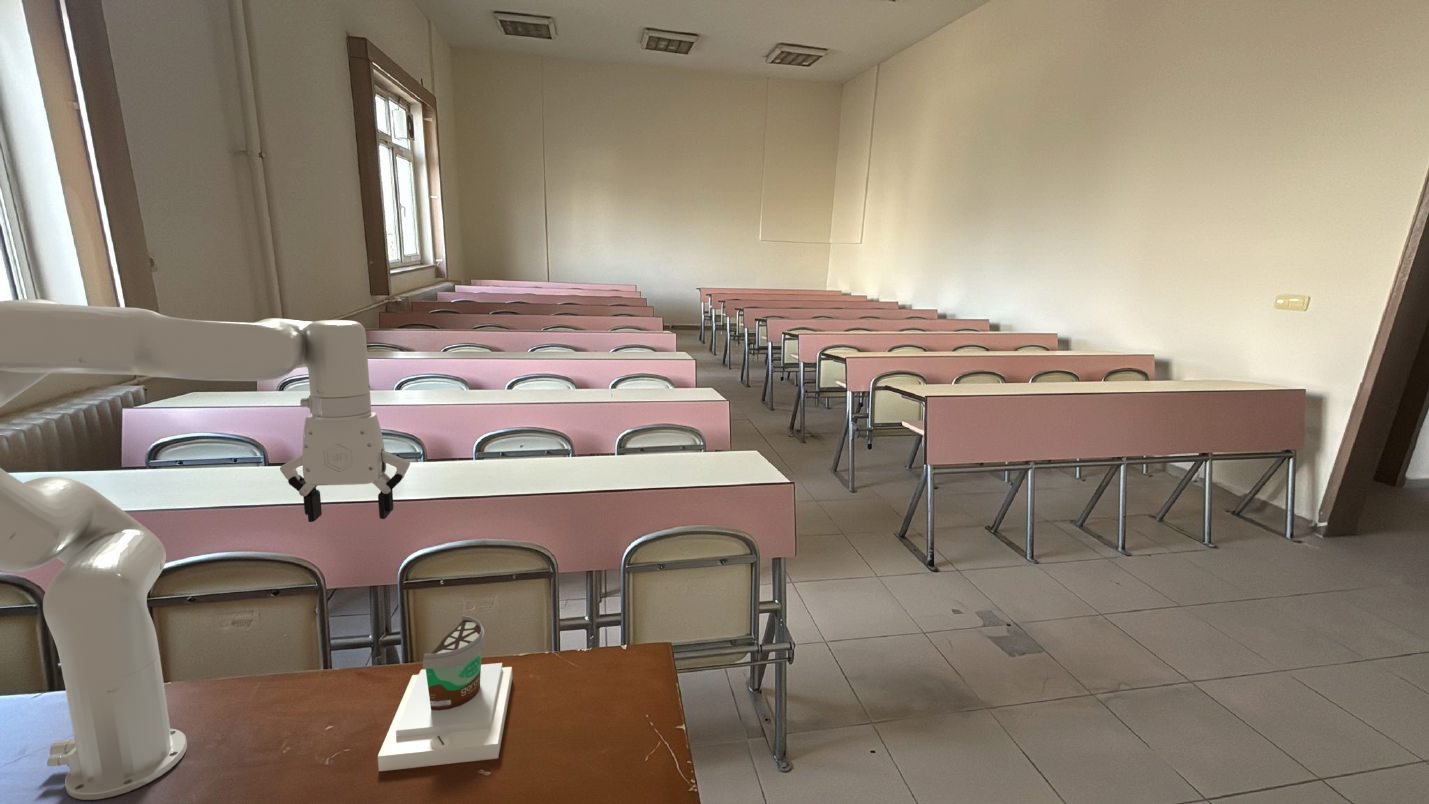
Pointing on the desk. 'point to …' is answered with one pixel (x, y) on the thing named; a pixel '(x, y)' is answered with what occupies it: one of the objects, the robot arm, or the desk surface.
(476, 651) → the food container
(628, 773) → the desk surface
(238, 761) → the desk surface
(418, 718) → the scale
